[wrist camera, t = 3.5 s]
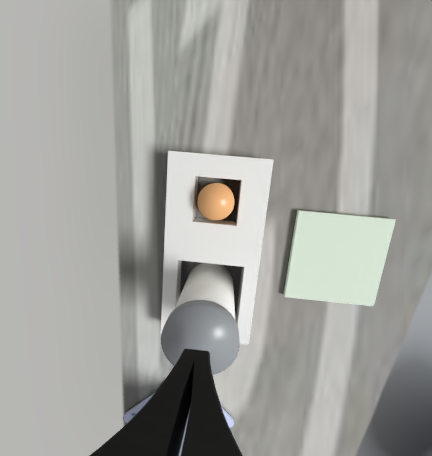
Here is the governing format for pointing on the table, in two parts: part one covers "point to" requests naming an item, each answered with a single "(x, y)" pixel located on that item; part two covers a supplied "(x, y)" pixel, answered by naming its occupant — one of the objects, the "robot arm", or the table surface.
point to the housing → (215, 226)
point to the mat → (337, 257)
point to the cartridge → (204, 318)
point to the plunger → (216, 201)
